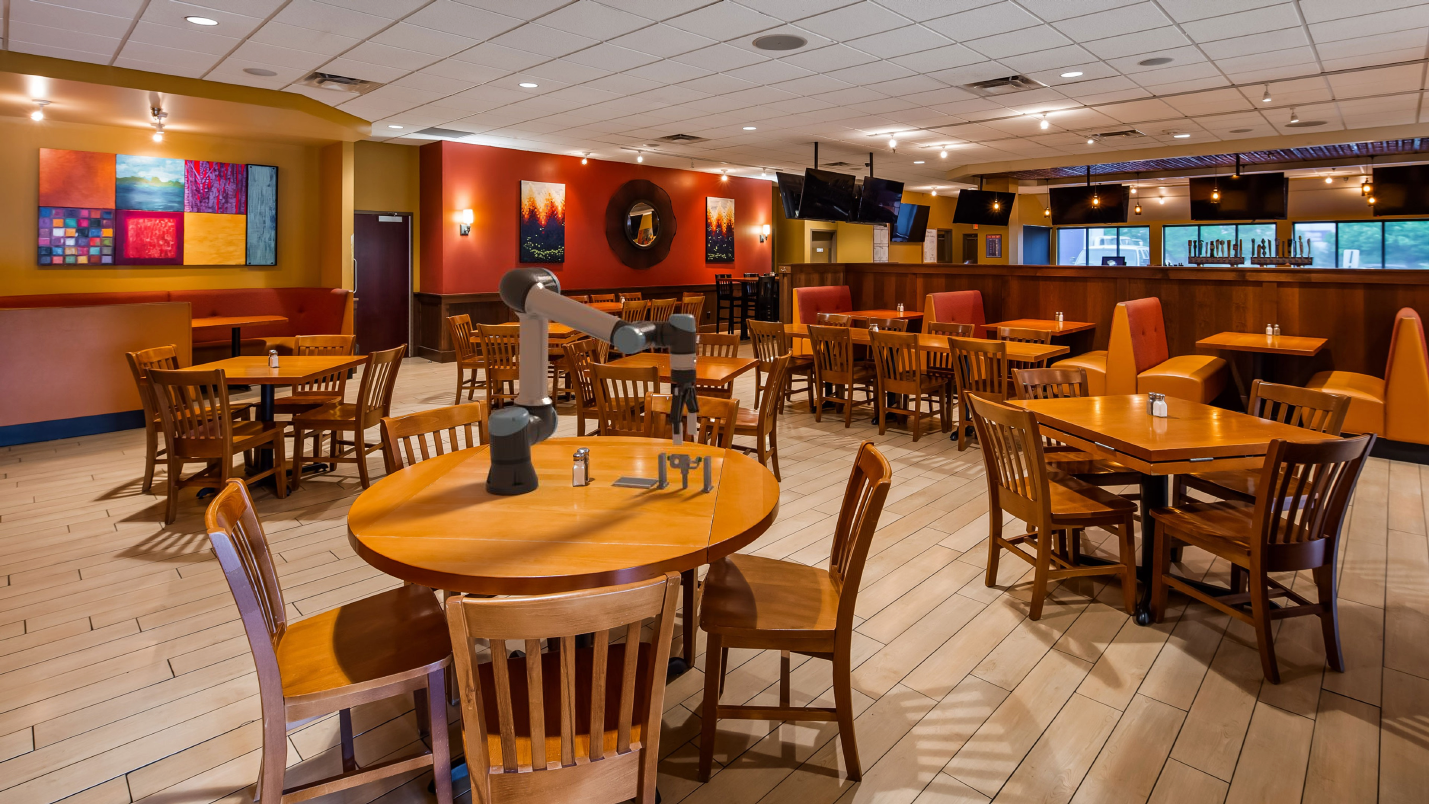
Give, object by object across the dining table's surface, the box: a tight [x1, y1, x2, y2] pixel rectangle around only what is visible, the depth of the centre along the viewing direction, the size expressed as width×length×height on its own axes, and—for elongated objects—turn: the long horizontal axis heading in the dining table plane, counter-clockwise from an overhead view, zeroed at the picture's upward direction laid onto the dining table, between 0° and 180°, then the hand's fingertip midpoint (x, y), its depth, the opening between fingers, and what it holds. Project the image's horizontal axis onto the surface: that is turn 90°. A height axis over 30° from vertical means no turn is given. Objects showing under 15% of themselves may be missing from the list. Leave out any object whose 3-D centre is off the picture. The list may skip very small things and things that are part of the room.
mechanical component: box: [666, 453, 703, 490], centre depth 230 cm, size 3×10×10 cm, turn 78°
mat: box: [612, 475, 659, 489], centre depth 236 cm, size 12×8×1 cm, turn 74°
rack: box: [655, 452, 715, 493], centre depth 230 cm, size 16×5×10 cm, turn 74°
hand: (685, 439), depth 228 cm, fingers open, 13 cm apart
